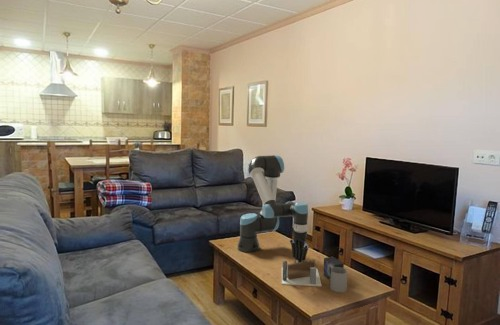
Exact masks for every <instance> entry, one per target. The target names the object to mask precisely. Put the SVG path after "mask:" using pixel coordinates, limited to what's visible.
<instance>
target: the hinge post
mask: <svg viewBox="0 0 500 325" xmlns="http://www.w3.org/2000/svg"><path fill="white" fill-rule="evenodd" d="M287 264H288V261H287V260H283V261H282V267H283V278H282V277H281V281H282V280H283V281H286V280H287Z"/></svg>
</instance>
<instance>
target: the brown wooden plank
mask: <svg viewBox="0 0 500 325" xmlns="http://www.w3.org/2000/svg"><path fill="white" fill-rule="evenodd" d="M310 267H316V259H314V258H309V260H306V261H305V260H304V261H302V262H298V263H296V262H291V263H287V278H288V279H294V278H300V277H307V276H310Z"/></svg>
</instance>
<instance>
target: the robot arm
mask: <svg viewBox="0 0 500 325" xmlns="http://www.w3.org/2000/svg"><path fill="white" fill-rule="evenodd" d="M284 171H285V162H284V160H283V158H282V157H281V156H280V155H274V154H273V155H258V156H255V157H254V158H252V160H251V161H250V162H249V165H248V174H249V176H250V178H251V179H253V182H254V185H255V188H256V190H257V192H258V195H259V197H260V199H261V202H262V206H261V210H260V211H259V215H258V214H256V213H250V212H249V213H246V214H245V213H244V214H242V216H241V217H240V220H239V221H240V222H239V228H240V229H239V239H238V242H237V250H238V251H240V252H245V253H253V252H257V251H259V250H260V248H261V247H260V242H259V239H258V233H267V232H274V231H276V230H278V229H279V225H280V218H286V217H292V218H293V232H292V234H293V235H292V236H293V239H290V240H289V243H290V246H291V253H292V257H293V258H294V259H295V263H298V262H304V261H305V260H306V257H307V254H308V249H309V248H310V247H311V246H310V244H308V243H307V237H308V218H309V206H308V203H305V202H294V201H290V200H288V201H286V202H284V203H277V201H276V200H277V188H278V179H279V178H280V177H281V174H282V173H284Z"/></svg>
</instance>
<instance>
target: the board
mask: <svg viewBox="0 0 500 325" xmlns="http://www.w3.org/2000/svg"><path fill="white" fill-rule="evenodd" d="M282 278H283V266H281V285H283V286H284V285H287V286H305V287H306V286H310V287H322V283H321V282H322V281H321V278H320V274H319V270H318V268H316V284H310V276H307V277H300V278H294V279H288V278H287V280H286V281H283V280H282Z"/></svg>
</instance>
